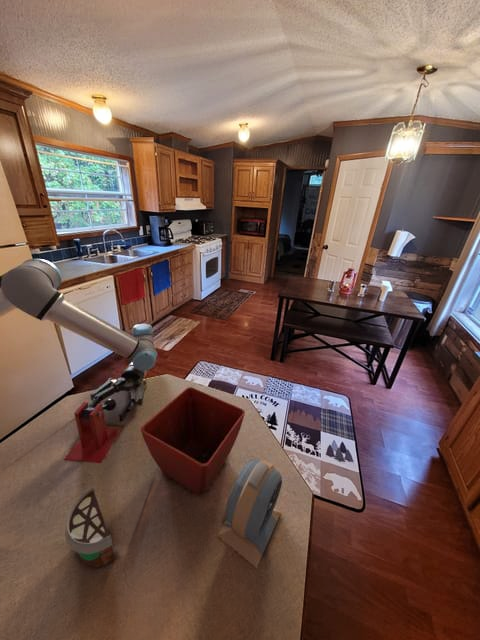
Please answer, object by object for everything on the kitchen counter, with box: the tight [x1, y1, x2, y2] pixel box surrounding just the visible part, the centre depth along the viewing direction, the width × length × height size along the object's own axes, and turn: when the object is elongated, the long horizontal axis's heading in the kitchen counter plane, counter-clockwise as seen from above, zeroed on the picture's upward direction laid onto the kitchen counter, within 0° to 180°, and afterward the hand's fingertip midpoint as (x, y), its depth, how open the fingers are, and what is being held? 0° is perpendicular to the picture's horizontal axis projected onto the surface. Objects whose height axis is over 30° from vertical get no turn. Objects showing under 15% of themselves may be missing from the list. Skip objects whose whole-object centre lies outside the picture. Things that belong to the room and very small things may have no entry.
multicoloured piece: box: [65, 486, 116, 569], centre depth 49 cm, size 12×6×10 cm, turn 42°
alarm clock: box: [217, 458, 283, 569], centre depth 54 cm, size 14×10×18 cm
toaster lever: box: [82, 398, 117, 419], centre depth 74 cm, size 14×4×4 cm
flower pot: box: [140, 386, 246, 497], centre depth 67 cm, size 19×19×17 cm
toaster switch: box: [63, 401, 123, 464], centre depth 70 cm, size 12×10×14 cm
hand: (103, 416), depth 76 cm, fingers open, 10 cm apart
